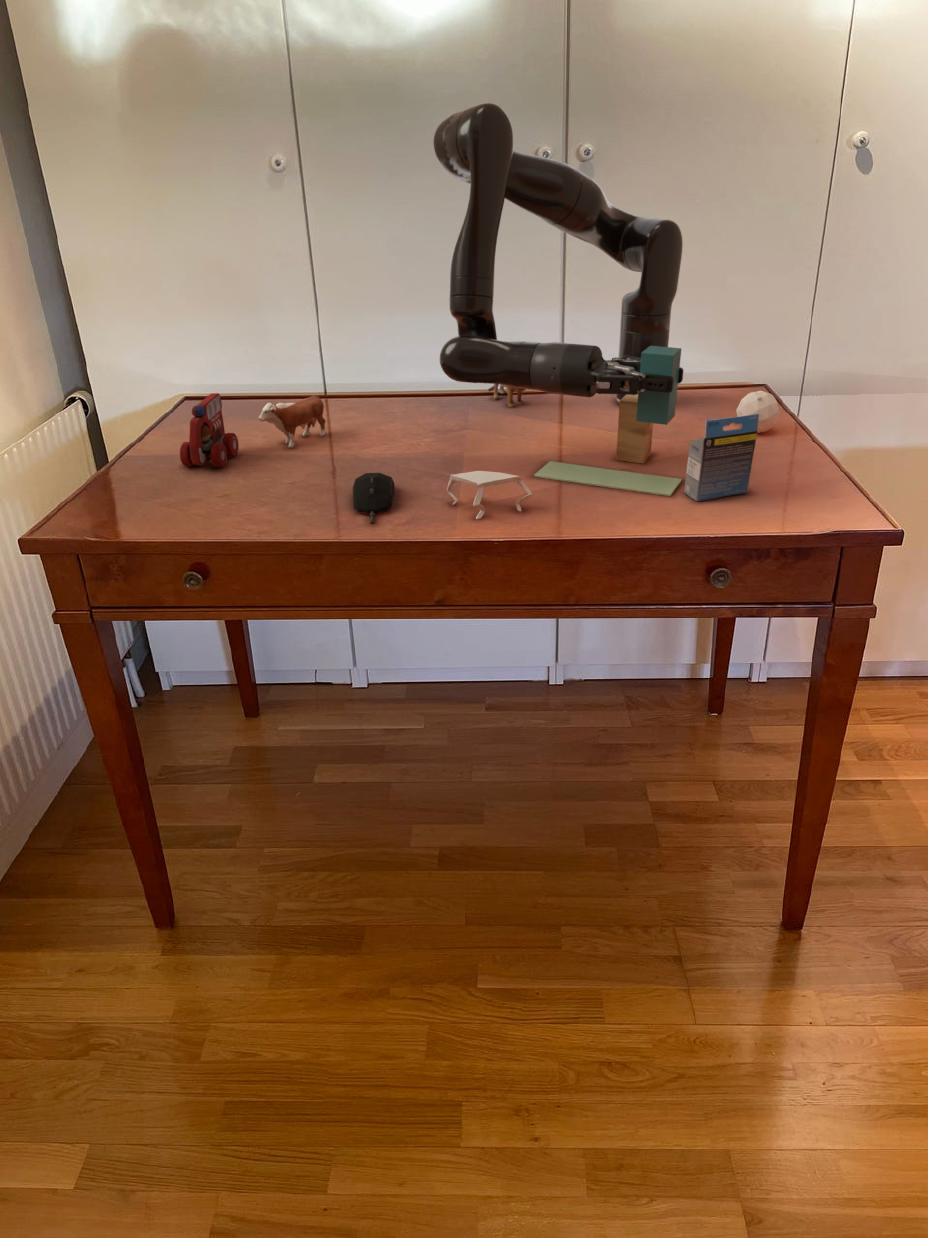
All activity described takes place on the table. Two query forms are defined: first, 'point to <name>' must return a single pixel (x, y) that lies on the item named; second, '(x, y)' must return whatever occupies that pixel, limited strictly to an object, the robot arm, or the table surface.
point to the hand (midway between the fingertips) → (677, 380)
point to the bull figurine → (295, 416)
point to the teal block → (656, 403)
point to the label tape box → (721, 459)
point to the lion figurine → (510, 393)
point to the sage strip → (609, 478)
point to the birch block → (632, 433)
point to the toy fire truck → (208, 435)
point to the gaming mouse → (373, 493)
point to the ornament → (760, 409)
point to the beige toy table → (485, 485)
